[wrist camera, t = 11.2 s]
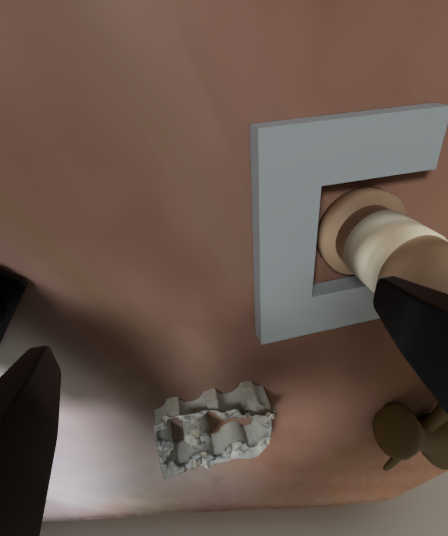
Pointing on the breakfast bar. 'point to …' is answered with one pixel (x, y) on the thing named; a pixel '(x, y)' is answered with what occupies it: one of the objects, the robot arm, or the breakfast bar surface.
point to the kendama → (412, 435)
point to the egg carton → (198, 433)
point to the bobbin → (381, 241)
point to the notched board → (308, 204)
